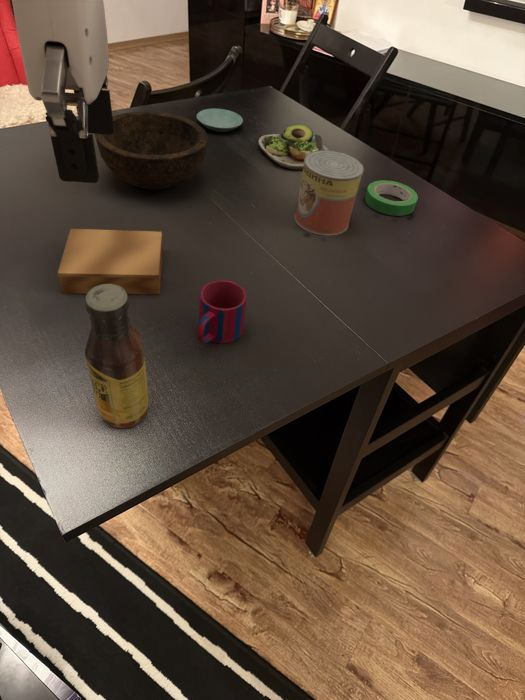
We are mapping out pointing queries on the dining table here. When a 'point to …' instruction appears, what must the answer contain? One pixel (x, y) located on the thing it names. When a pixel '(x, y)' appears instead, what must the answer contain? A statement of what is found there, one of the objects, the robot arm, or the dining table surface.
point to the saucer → (219, 119)
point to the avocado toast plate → (291, 146)
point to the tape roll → (387, 205)
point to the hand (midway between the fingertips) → (89, 154)
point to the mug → (221, 312)
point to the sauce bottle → (115, 358)
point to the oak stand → (112, 261)
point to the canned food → (327, 192)
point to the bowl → (153, 149)
